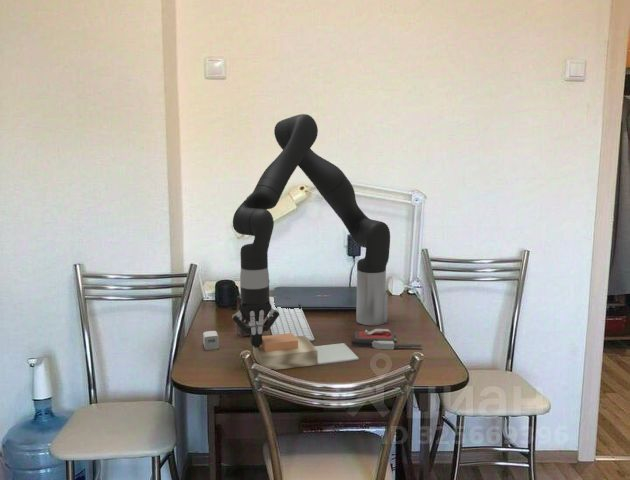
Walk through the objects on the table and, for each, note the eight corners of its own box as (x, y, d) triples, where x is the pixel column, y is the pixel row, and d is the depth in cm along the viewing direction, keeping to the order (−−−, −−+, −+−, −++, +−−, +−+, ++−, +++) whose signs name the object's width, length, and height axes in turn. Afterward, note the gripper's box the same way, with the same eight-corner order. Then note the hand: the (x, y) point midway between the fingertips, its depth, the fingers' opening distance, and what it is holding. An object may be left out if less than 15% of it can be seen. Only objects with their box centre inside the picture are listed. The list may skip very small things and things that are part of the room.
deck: (305, 348, 172) (305, 335, 171) (317, 364, 160) (317, 350, 160) (253, 354, 167) (252, 340, 167) (262, 371, 156) (262, 356, 155)
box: (243, 337, 180) (242, 299, 178) (236, 333, 184) (235, 295, 182) (261, 334, 184) (260, 296, 181) (254, 329, 187) (253, 292, 185)
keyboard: (315, 342, 178) (315, 335, 178) (273, 345, 176) (272, 337, 176) (297, 300, 221) (297, 294, 220) (263, 301, 219) (263, 295, 219)
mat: (344, 344, 175) (344, 343, 175) (358, 359, 164) (358, 358, 164) (305, 348, 172) (305, 347, 172) (318, 364, 160) (318, 363, 160)
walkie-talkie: (351, 350, 171) (421, 351, 171) (351, 335, 171) (422, 336, 170) (350, 339, 180) (417, 340, 179) (350, 325, 179) (418, 326, 178)
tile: (292, 340, 167) (292, 333, 166) (298, 348, 161) (298, 340, 161) (260, 344, 164) (260, 336, 164) (265, 351, 159) (265, 344, 158)
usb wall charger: (204, 350, 171) (204, 336, 170) (202, 341, 177) (202, 328, 177) (218, 348, 172) (218, 335, 171) (216, 340, 178) (215, 327, 178)
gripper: (276, 278, 163) (277, 339, 166) (227, 282, 159) (229, 344, 163) (282, 285, 156) (283, 348, 159) (231, 289, 152) (234, 354, 156)
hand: (256, 346), depth 161 cm, fingers closed
